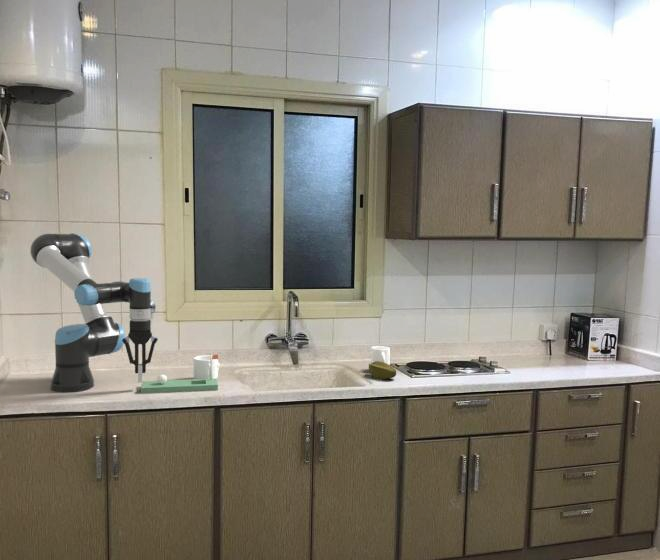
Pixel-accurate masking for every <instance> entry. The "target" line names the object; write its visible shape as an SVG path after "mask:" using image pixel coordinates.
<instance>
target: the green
mask: <svg viewBox="0 0 660 560" xmlns="http://www.w3.org/2000/svg"><path fill="white" fill-rule="evenodd" d="M212 359H218V360H219V354H210V379H194V378H192V379H172V380H171V379H169V380H168V379H167V382H166V383H164V384H160V383H159V382H158V380H149V381H148V380H147V381H142V382H141V387H140V394H156V393H157V394H158V392H159V393H160V392H161V393H162V392H163V393H177V392H178V393H181V392H183V393H184V391H185V392H204V391H206V390H207V391H218V390H219V384H218V382H217V381H218V380H217V379H212ZM207 391H206V392H207Z"/></svg>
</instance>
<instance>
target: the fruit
mask: <svg viewBox="0 0 660 560" xmlns="http://www.w3.org/2000/svg"><path fill="white" fill-rule="evenodd" d="M368 372H369V373H370V375H371V376H372V377H374V378H375V379H377V378H380V379H379V380H387V379H394V378H395V377H396V376H397V370H396V369H395V368H394V367H393V366H391V365H388V364H386V363H384V362H380V361H375V362H373V363H371V362H370V363H368Z"/></svg>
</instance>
